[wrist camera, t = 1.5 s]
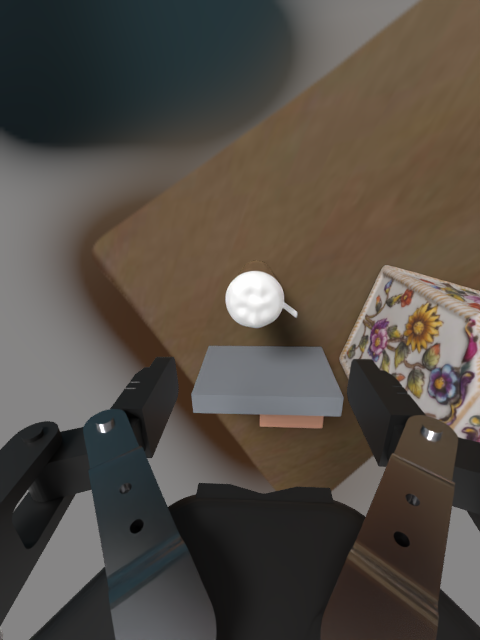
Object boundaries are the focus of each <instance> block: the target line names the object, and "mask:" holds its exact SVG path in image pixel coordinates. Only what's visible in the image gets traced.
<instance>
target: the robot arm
mask: <svg viewBox="0 0 480 640" xmlns="http://www.w3.org/2000/svg"><path fill="white" fill-rule="evenodd" d="M347 395H348V401H349V403H350V406H351V408H352V410H353V412H354V414H355V416H356V418H357V421H358V423H359V425H360V427H361V429H362V431H363V433H364V436H365V438H366V440H367V442H368V444H369V446H370V448H371V451H372V453H373V455H374V457H375V459H376V461H377V463H378V466H384V467H386V469H385V471H384V474H383V476H382V478H381V481H380V483H379V486H378V488H377V490H376V493H375V495H374V498H373V500H372V503H371V505H370V507H369V510H368V512H367V515H366V517H365V516H364V515H362V514H360V513H359V512H358V511H356V510H355V509H353V508H351V507H349V506H347V505H345V504H343V503H340V502H338V501H335V500H333V498H332V494H331V490H330V488H316V487H294V488H289V489H285V490H280V491H275V492H271V493H266V494H262V493H258V492H254V491H251V490H248V489H245V488H241V487H237V486H234V485H231V484H210V483H199V484H198V489H197V493H196V495H192V496H189V497H186V498H183V499H181V500H179V501H177V502H175V503H174V504H172V505H170V506H169V507H168V506H167V504H166V502H165V499H164V497H163V495H162V492H161V490H160V487H159V485H158V483H157V480H156V478H155V476H154V473H153V471H152V469H151V466H150V464H149V461H148V459H147V458H152V457H153V455H154V452H155V450H156V448H157V445H158V443H159V440H160V438H161V436H162V433H163V431H164V428H165V426H166V423H167V421H168V419H169V416H170V414H171V412H172V409H173V407H174V404H175V402H176V400H177V397H178V379H177V372H176V364H175V359H174V357H156V358H155V360H154V361H153V363H152V364H151V366H150V367H146V368H143V369H142V370H141V371H139V372H138V373H137V374H135V375H134V377H133V378H132V380H131V381H130V383H129V384H128V385H127V386H126V389H124V391H123V392H122V393H121V395H120V396H119V397H118V399H117V400H116V402H115V403H114V404H113V406H112V407H111V409H108V410H104V411H101V412H99V413H97V414H95V415H94V416H92V417H91V418H90V419H89V420H88V421H87V422H86V423H85V425H84V427H82V428H77V429H72V430H67V431H62V432H60V431H59V428H58V425H57V424H55V423H54V422H50V421H49V422H48V421H47V422H39V423H36V424H33V425H31V426H28V427H26V428H24V429H23V430H21V431H20V432H18V433H17V434H16V435H15V436H13V437H12V438H11V439H10V441H8V442H7V444H6V445H5V446H4V447H3V448H2V449H1V450H0V626H1V624H2V622H3V620H4V619H5V617H6V615H7V613H8V612H9V610H10V608H11V606H12V605H13V603H14V601H15V599H16V598H17V596H18V594H19V592H20V591H21V589H22V587H23V585H24V584H25V582H26V580H27V578H28V576H29V575H30V573H31V571H32V570H33V568H34V566H35V564H36V563H37V561H38V559H39V557H40V555H41V554H42V552H43V550H44V549H45V547H46V545H47V543H48V542H49V540H50V538H51V536H52V534H53V533H54V531H55V529H56V528H57V526H58V524H59V522H60V520H61V519H62V517H63V515H64V513H65V512H66V510H67V508H68V507H69V505H70V503H71V501H72V499H73V498H74V496H75V494H76V493H80V492H84V491H87V490H92V495H93V501H94V507H95V513H96V518H97V524H98V530H99V535H100V541H101V547H102V552H103V558H104V563H105V567H104V568H103V569H102V570H101V571H100V572H99V573H98V574H97V575H96V576H95V577H94V578H92V580H90V582H88V583H87V584H86V585H85V586H84V587H83V588H82V589H81V590H80V591H79V592H78V593H77V594H76V595H75V596H74V597H73V598H72V599H71V600H70V601H69V602H68V603H67V604H66V605H65V606H64V607H63V608H61V609H60V610H59V612H57V613H56V615H54V616H53V617H52V618H51V619H50V620H49V621H48V622H47V623H46V624H45V625H44V626H43V627H42V628H41V629H40V630H39V631H38V632H37V633H36V634H34V636H32V637H31V638H30V639H29V640H480V627H479V626H478V625H477V624H476V623H475V622H474V621H473V620H472V619H471V618H470V617H469V616H468V615H467V614H466V613H465V612H464V611H463V610H462V609H461V608H460V607H459V606H458V605H456V603H455V602H454V601H453V600H452V599H451V598H449V597H448V596H447V595H446V594H445V593H444V592H443V591H442V590H441V589H440V585H441V579H442V572H443V565H444V557H445V551H446V544H447V538H448V531H449V524H450V517H451V510H452V506H454V507H458V508H460V509H464V510H467V512H468V514H469V515H470V517H471V518H472V520H473V522H474V523H475V525H476V526H477V528H478V530H479V531H480V442H476V441H472V440H468V439H463V438H460V437H458V436H457V434H456V433H455V431H454V430H453V429H452V428H451V427H450V426H448V425H447V424H445V423H444V422H442V421H440V420H438V419H435V418H433V417H429V416H426V415H425V413H424V412H423V411H422V410H421V408H420V407H419V406H418V405H417V403H416V402H415V401H414V400H413V399H412V397H411V396H410V395H409V394H408V393H407V391H406V390H405V389H404V387H402V385H401V384H400V382H399V381H398V380H397V379H396V377H394V376H393V375H391V374H390V373H388V372H387V371H385V370H380V369H379V368H378V367H377V365H376V364H375V363H374V361H373V360H372V359H353V360H352V362H351V367H350V374H349V381H348V387H347ZM27 490H29V492H28V493H27V495H26V496H25V498H24V499H23V500H22V502H21V503H20V504H19V506H18V507H17V508H16V510H15V511H14V509H15V507H16V505H17V503H18V502H19V501H20V499H21V498H22V497H23V495H24V494H25V493H26V491H27ZM0 640H3V632H2V629H1V627H0Z"/></svg>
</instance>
